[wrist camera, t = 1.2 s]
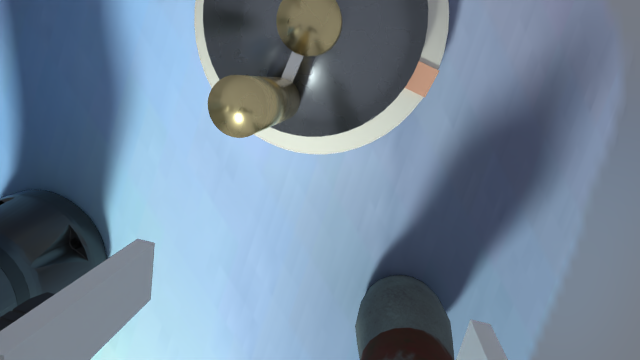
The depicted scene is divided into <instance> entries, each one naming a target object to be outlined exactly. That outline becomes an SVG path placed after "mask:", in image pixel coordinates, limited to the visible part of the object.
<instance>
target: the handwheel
mask: <svg viewBox="0 0 640 360" xmlns="http://www.w3.org/2000/svg"><path fill="white" fill-rule="evenodd" d="M203 27H204V37H205V42H206V46H207V51H208V54H209V57H210V60H211V63H212V66H213V68H214V70H215V72H216V74H217V76H218V78H219V81H218V82H217V83H216V84H215V85H214V86H213V88H212V89H211V92H210V94H209V98H208V110H209V114H210V117H211V119H212V121H213V123H214V124H215V126H216V127H217V128H218V129H219V130H220V131H222V132H223V133H225V134H226V135H229V136H232V137H237V138H243V137H247V136H250V135H253V134H255V133H257V132H260V131H262V130H264V129H267V128H269V127H271V128H273V129H276V130H278V131H281V132H284V133H288V134H292V135H297V136H305V137H322V136H330V135H336V134H339V133H343V132H347V131H350V130H352V129H354V128H357V127H359V126H361V125H363V124H365V123H367V122H368V121H370V120H372V119H373V118H375V117H376V116H377V115H379V114H380V113H381V112H383V111H384V110H385V109H386V108H387V107H388V106H389V105H390V104H391V103H392V102H393V101H394V100H395V99H396V98H397V97H398V95H399V94H400V93H401V92H402V90H403V89H404V88H405V86H406V85H407V83H408V82H409V80H410V78H411V77H412V75H413V73H414V71H415V69H416V66H417V64H418V62H419V60H420V57H421V54H422V50H423V47H424V44H425V38H426V33H427V27H428V0H204V3H203Z"/></svg>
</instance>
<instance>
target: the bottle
mask: <svg viewBox="0 0 640 360" xmlns="http://www.w3.org/2000/svg"><path fill="white" fill-rule="evenodd" d="M355 328H356V337H357V345H358V352H359V358H360V360H454V350H453V340H452V332H451V324H450V320H449V318H448V316H447V314H446V312H445V310H444V308H443V306H442V305H441V303H440V301H439V299H438V297H437V296H436V295H435V294H434V292H433V291H432V290H431V289H430V288H429V287H427V286H426V285H425V284H424V283H423V282H421V281H419V280H417V279H415V278H414V277H409V276H404V275H395V276H388V277H385V278H383V279H380V280H378V281H377V282H376V283H375V284H373V285H372V286H371V287H370V288H369V290H368V292H367V293H366V295H365V296H364V298H363V299H362V301H361V305H360V308H359V312H358V316H357V321H356V326H355Z"/></svg>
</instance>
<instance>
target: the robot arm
mask: <svg viewBox="0 0 640 360" xmlns="http://www.w3.org/2000/svg"><path fill="white" fill-rule="evenodd" d="M154 245H155V243H153V242H149V241H145V240H141V239H136V240H135V241H133V242H132V243H130V244H129V245H127V246H126V247H124V248H123V249H122V250H120V251H119V252H117V253H116V254H114V255H113V256H111V257H110V258H108V259H107V260H106V253H105V248H104V244H103V241H102V239H101V236H100V234H99V232H98V230H97V229H96V227H95V225H94V224H93V222H92V221H91V220H90V218H89V217H88V216H87V215H86V214H85V213H84V212H83V211H82V210H81V209H80V208H79V207H78V206H76V205H75V204H74V203H72V202H71V201H69V200H68V199H66V198H64V197H62V196H60V195H58V194H55V193H52V192H49V191H44V190H26V191H22V192H18V193H15V194H12V195H9V196H5V197H3V198H1V199H0V360H90V359H91V358H92V357H93V356H94V355H95V354H96V353H97V352H98V351H99V350H100V349H101V348H102V347H103V346H104V345H105V344H106V343H107V342H108V341H109V340H110V339H111V338H112V337H113V336H114V335H115V334H116V333H117V332H118V331H119V330H120V329H121V328H122V327H123V326H124V325H125V324H126V323H127V322H128V321H129V320H130V319H131V318H132V317H133V316H134V315H135V314H136V313H137V312H138V311H139V310H140V309H141V308H142V307H143V306H144V305H145V304H146V303H147V302H148V301H149V300H150V299H151V286H152V273H153V259H154ZM456 360H508V359H507V357H506V355H505V353H504V351H503V349H502V347H501V345H500V343H499V341H498V339H497V337H496V335H495V333H494V331H493V329H492V327H491V325H490V324H487V323H483V322H479V321H475V320H471V319H470V322H469V325H468V328H467V331H466V333H465V336H464V339H463V342H462V345H461V347H460V350H459V353H458V356H457V359H456Z"/></svg>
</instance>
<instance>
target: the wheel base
mask: <svg viewBox="0 0 640 360" xmlns="http://www.w3.org/2000/svg"><path fill="white" fill-rule="evenodd" d="M203 3H204V0H196V2H195V23H194V25H195V35H196V43H197V48H198V53H199V57H200V61H201V64H202V66H203V69H204V72H205V75H206V77H207V79H208V81H209V83H210V85H211V87H212V88H213V86H214V85H215V84H216V83H217V82H218V81H219V78H218V76H217V74H216V72H215V70H214V68H213V66H212V63H211V60H210V57H209V54H208V51H207V46H206V42H205V37H204V27H203ZM448 25H449V2H448V0H428V27H427V33H426V38H425V44H424V47H423V50H422V54H421V57H420V60H419V62H418V64H417V66H416V69H415V71H414V73H413V75H412V77H411V78H410V80H409V82H408V83H407V85H406V86H405V88H404V89H403V90H402V92H401V93H400V94H399V95H398V97H397V98H396V99H395V100H394V101H393V102H392V103H391V104H390V105H389V106H388V107H387V108H386V109H385V110H384V111H383V112H381V113H380V114H379V115H377V116H376V117H375V118H373V119H372V120H370V121H368V122H367V123H365V124H363V125H361V126H359V127H357V128H354V129H352V130H350V131H347V132H343V133H339V134H336V135H330V136H322V137H305V136H297V135H292V134H288V133H284V132H281V131H278V130H276V129H273V128H271V127H269V128H267V129H264V130H262V131H260V132H257V133H255V134H254V135H256V136H257V137H259V138H261V139H263V140H264V141H266V142H268V143H270V144H273V145H275V146H278V147H280V148H283V149H287V150H290V151H294V152H299V153H307V154H332V153H340V152H345V151H348V150H352V149H356V148H359V147H361V146H364V145H366V144H369V143H371V142H373V141H375V140H377V139H378V138H380V137H382V136H384V135H385V134H387V133H388V132H390V131H391V130H392V129H394V128H395V127H396V126H398V125H399V124H400V123H401V122H402V121H403V120H404V119H405V118H406V117H407V116H408V115H409V114H410V113H411V112H412V111H413V110H414V109H415V107H416V106H417V105H418V104H419V102H420V101H421V100H422V99H423V97H425V96H426V95H427V93H428V91H429V89H430V87H431V85H432V84H433V82H434V80H435V78H436V76H437V74H438V72H439V71H438V69H439V66H440V63H441V60H442V57H443V54H444V51H445V45H446V40H447V35H448Z"/></svg>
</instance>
